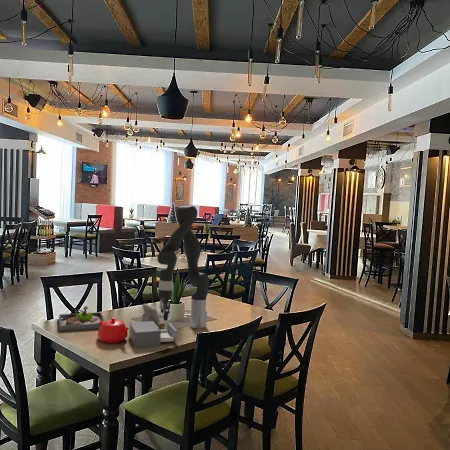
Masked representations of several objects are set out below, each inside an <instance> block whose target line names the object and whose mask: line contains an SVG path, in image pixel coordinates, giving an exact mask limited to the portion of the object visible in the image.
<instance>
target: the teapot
mask: <svg viewBox="0 0 450 450" xmlns="http://www.w3.org/2000/svg"><path fill="white" fill-rule="evenodd" d="M99 326H100V328H99V329H98V330H97V337H98V339H99V340H100V341H101V342H103V343H106V344H116V343H117V344H119V343H121V342H122V341H123V342H124V340H126V339H127V337H128V335H129V333H128V330H130V327H127V326H126V324H125V322H124V321H122V320H119V319H117V317H115V316H111V317H110V319H108V320H105V321H100V322H99Z"/></svg>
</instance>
